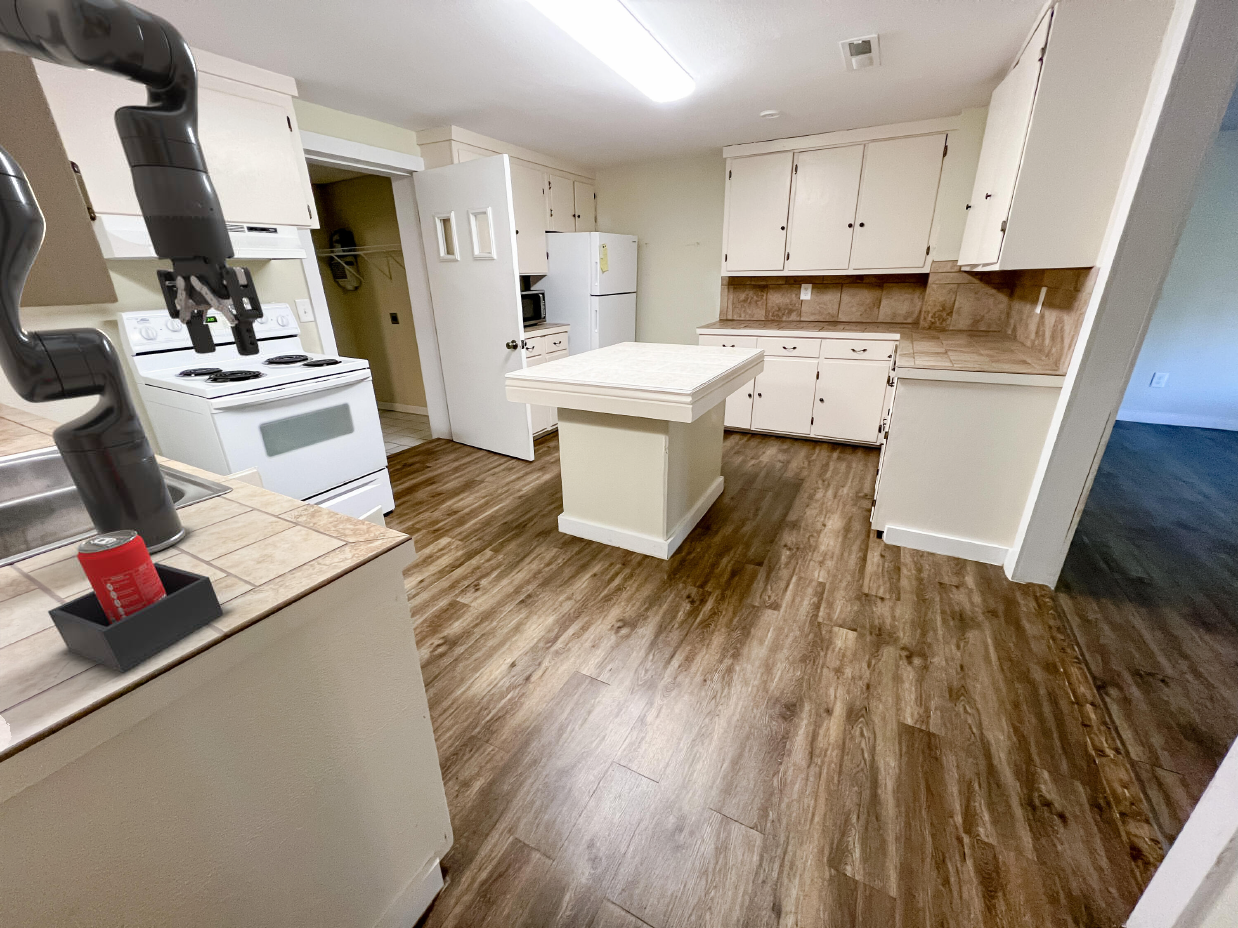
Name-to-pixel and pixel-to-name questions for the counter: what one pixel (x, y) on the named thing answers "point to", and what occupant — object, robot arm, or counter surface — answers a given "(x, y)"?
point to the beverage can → (120, 573)
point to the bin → (138, 621)
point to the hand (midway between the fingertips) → (227, 354)
